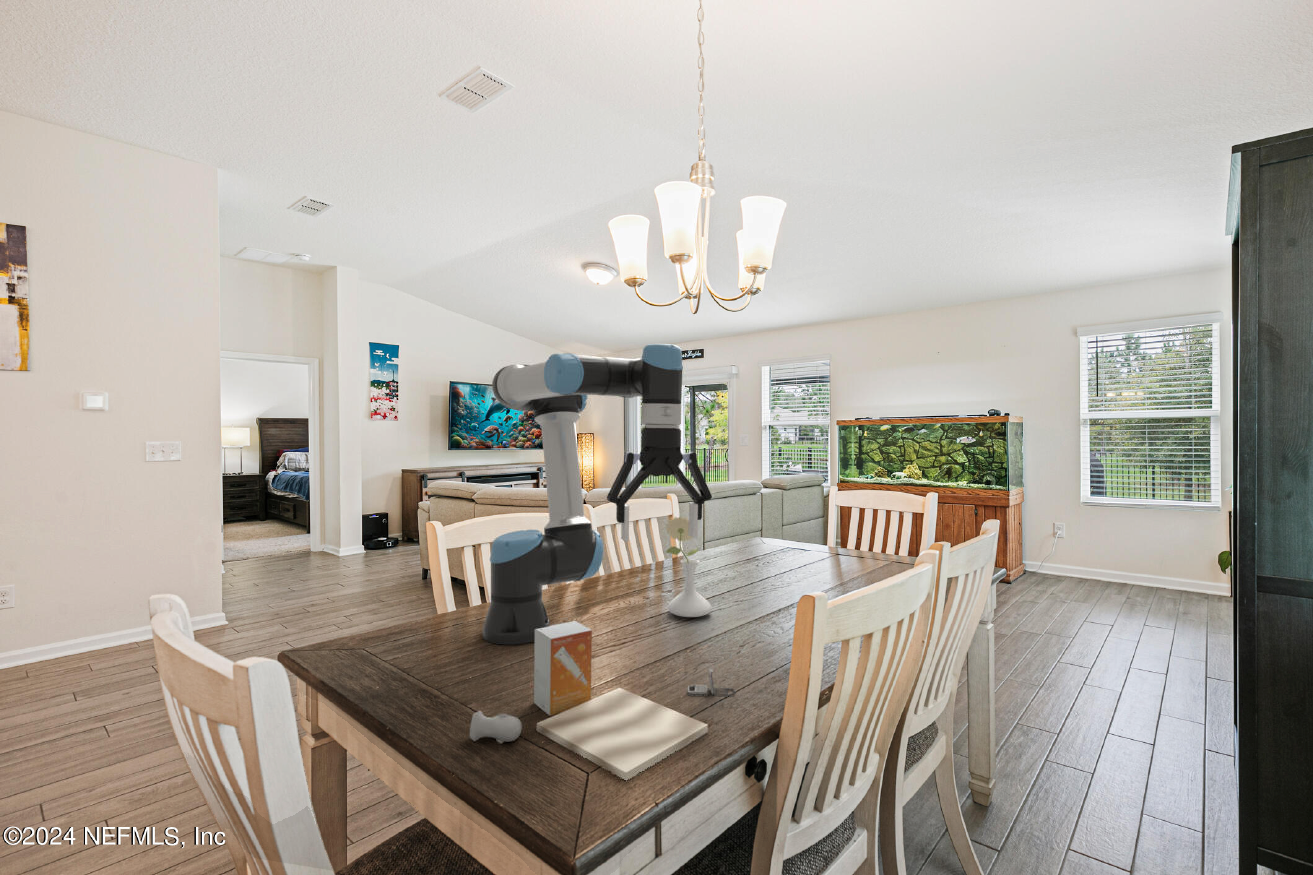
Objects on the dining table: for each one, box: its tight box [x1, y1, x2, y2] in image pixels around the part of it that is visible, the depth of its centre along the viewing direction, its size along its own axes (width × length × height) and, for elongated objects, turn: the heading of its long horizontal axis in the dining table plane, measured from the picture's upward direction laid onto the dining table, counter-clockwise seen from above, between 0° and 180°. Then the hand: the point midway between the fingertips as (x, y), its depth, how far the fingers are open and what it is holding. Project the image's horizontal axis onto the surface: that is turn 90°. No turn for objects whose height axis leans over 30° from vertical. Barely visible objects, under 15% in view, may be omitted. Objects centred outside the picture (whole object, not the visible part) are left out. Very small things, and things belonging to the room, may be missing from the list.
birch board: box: [536, 687, 709, 781], centre depth 94 cm, size 20×18×1 cm
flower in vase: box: [665, 516, 713, 618], centre depth 155 cm, size 13×11×25 cm
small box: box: [533, 620, 593, 717], centre depth 104 cm, size 8×6×13 cm
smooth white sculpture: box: [469, 710, 523, 744], centre depth 92 cm, size 4×8×5 cm
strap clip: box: [687, 668, 736, 697], centre depth 109 cm, size 8×3×4 cm, turn 87°
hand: (659, 538), depth 114 cm, fingers open, 13 cm apart
